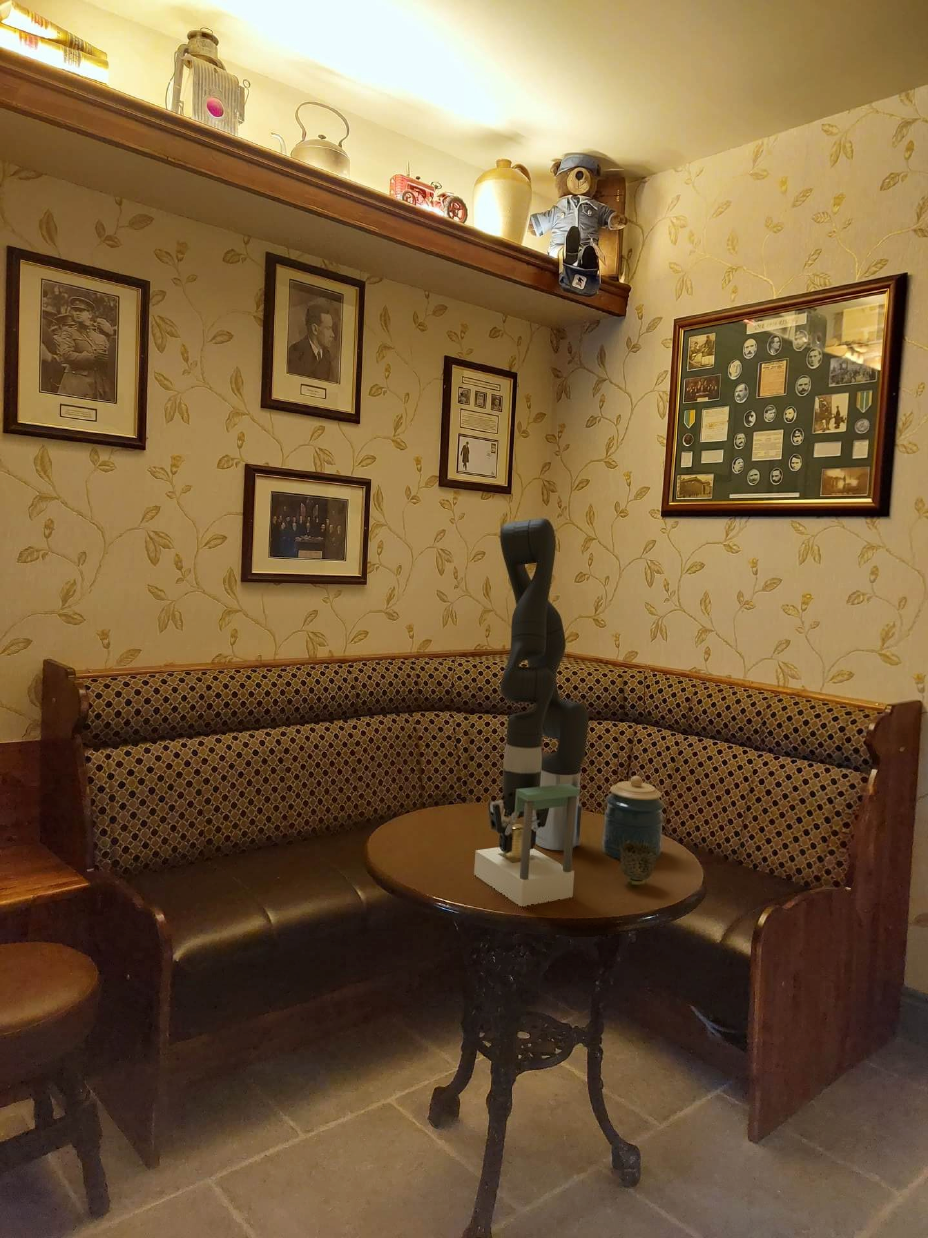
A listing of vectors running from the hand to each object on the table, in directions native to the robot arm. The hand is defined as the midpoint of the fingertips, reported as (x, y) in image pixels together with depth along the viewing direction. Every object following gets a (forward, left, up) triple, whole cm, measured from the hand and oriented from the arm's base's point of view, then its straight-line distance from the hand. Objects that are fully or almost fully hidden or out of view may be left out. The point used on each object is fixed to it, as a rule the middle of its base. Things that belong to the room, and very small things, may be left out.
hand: (517, 849), depth 168 cm
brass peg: (0, 0, -5) cm, 5 cm away
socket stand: (0, +2, -6) cm, 7 cm away
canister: (-34, -4, -7) cm, 35 cm away
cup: (-22, +11, -7) cm, 25 cm away
